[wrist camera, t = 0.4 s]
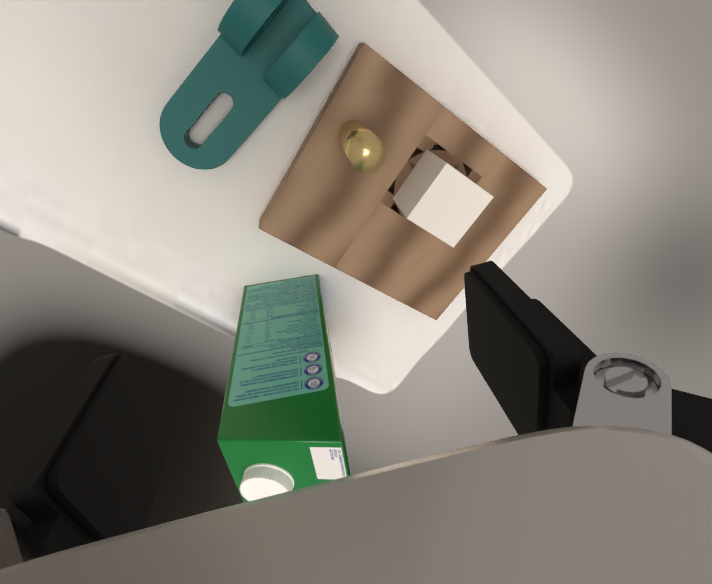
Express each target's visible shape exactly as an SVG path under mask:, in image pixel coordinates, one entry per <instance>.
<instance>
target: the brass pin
mask: <svg viewBox="0 0 712 584" xmlns="http://www.w3.org/2000/svg"><path fill="white" fill-rule="evenodd" d="M338 140H339V143H340V145H341V147H342V149H343V150H344V152H345V154H346V155H347V157H348V159H349V161H350V162H351V164H352V166H353V167H354V168H355V169H356V170H357V171H359V172H362V173H372V172H375V171H376V170H378V169H379V168H380V167H381V166H382V165H383V163H384V161H385V158H386V149H385V146H384V144H383V142H382V141H381V140H380V139H379V138H378V137H377V136H376V135H375V134H374V133H373V132H372V131H371V130H370V129H369V128H367V127H366V126H365V125H364V124H363V123H362V122H360V121H357V120H350V121H348V122H346V123H344V124H343V125H342V127H341V128H340V130H339V134H338Z"/></svg>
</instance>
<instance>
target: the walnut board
mask: <svg viewBox="0 0 712 584" xmlns="http://www.w3.org/2000/svg"><path fill="white" fill-rule="evenodd" d="M350 120H357V121H360V122H362V123H363V124H364V125H365V126H366V127H367V128H369V129H370V130H371V131H372V132H373V133H374V134H375V135H376V136H377V137H378V138H379V139H380V140H381V141H382V142H383V144H384V146H385V149H386V158H385V161H384V163H383V165H382V166H381V167H380V168H379V169H378V170H376V171H375V172H372V173H362V172H359V171H357V170H356V169H355V168H354V167H353V166H352V164H351V162H350V161H349V159H348V157H347V155H346V154H345V152H344V150H343V149H342V147H341V145H340V143H339V140H338V134H339V130H340V128H341V127H342V125H343V124H344V123H346V122H348V121H350ZM435 143H436V144H437V145H439V146H434V145H435ZM427 149H428V150H429V151H430V152H432V153H433V154H435V155H436V156H438V157H439V158H441V159H442V160H443V161H445V162H446V163H448V164H449V165H450V166H452V167H453V168H455V169H456V170H457V171H459V172H460V173H461V174H463V175H464V176H466V177H467V178H468V179H470V180H471V181H472V182H474V183H475V184H477V185H478V186H479V187H481V188H482V189H483V190H485V191H486V192H488V193H489V194H490V195H492V196H493V199H492V200H491V201H490V202H489V204H488V205H487V206H486V207H485V209H484V210H483V211H482V213H481V214H480V215H479V216H478V218H477V219H476V220H475V221H474V223H473V224H472V225H471V226H470V228H469V229H468V230H467V231H466V233H465V234H464V235H463V236H462V238H461V239H460V240H459V241H458V243H457V244H456V245H455V247H454V248H453V247H452V246H450V245H448V244H447V243H445V242H444V241H442V240H440V239H439V238H437V237H436V236H434V235H432V234H431V233H429V232H428V231H426V230H424V229H423V228H421V227H420V226H418V225H416V224H415V223H413V222H412V221H410V220H408V219H407V218H406V217H405V215H404V214H403V213H402V211H401V210H400V208H399V207H398V206H397V204H396V203H395V201H394V200H393V197H394V196H395V195H396V193H397V192H398V190H399V189H400V187H401V186H402V184H403V183H404V181H405V180H406V179H407V177H408V176H409V174H410V173H411V171H412V170H413V168H414V167H415V166H416V164H417V163H418V161H419V160H420V158H421V157H422V155H423V154H424V153H425V151H426V150H427ZM463 164H464V165H463ZM546 189H547V188H545V187H544V186H543V185H542V184H540V183H539V182H538V181H537V180H535V179H534V178H533V177H532V176H530V175H529V174H528V173H527V172H525V171H524V170H523V169H522V168H520V167H519V166H518V165H517V164H515V163H514V162H513V161H512V160H510V159H509V158H508V157H507V156H505V155H504V154H503V153H502V152H500V151H499V150H498V149H497V148H495V147H494V146H493V145H491V144H490V143H489V142H488V141H486V140H485V139H484V138H483V137H481V136H480V135H479V134H478V133H476V132H475V131H474V130H473V129H471V128H470V127H469V126H468V125H466V124H465V123H464V122H463V121H461V120H460V119H459V118H458V117H456V116H455V115H454V114H453V113H451V112H450V111H449V110H448V109H446V108H445V107H444V106H443V105H441V104H440V103H439V102H438V101H436V100H435V99H434V98H433V97H431V96H430V95H429V94H428V93H426V92H425V91H424V90H423V89H421V88H420V87H419V86H418V85H416V84H415V83H414V82H413V81H411V80H410V79H409V78H408V77H406V76H405V75H404V74H403V73H401V72H400V71H399V70H398V69H396V68H395V67H394V66H393V65H391V64H390V63H389V62H388V61H386V60H385V59H384V58H382V57H381V56H380V55H379V54H377V53H376V52H375V51H374V50H372V49H371V48H370V47H369V46H367V45H366V44H365V43H360V44H359V45H358V47H357V49H356V51H355V53H354V54H353V56H352V58H351V60H350V61H349V63H348V65H347V67H346V69H345V70H344V72H343V74H342V76H341V77H340V79H339V81H338V83H337V84H336V86H335V88H334V90H333V92H332V93H331V95H330V97H329V99H328V100H327V102H326V104H325V106H324V108H323V109H322V111H321V113H320V115H319V116H318V118H317V120H316V122H315V123H314V125H313V127H312V129H311V131H310V132H309V134H308V136H307V138H306V139H305V141H304V143H303V145H302V147H301V148H300V150H299V152H298V154H297V155H296V157H295V159H294V161H293V163H292V164H291V166H290V168H289V170H288V171H287V173H286V175H285V177H284V178H283V180H282V182H281V184H280V186H279V187H278V189H277V191H276V193H275V194H274V196H273V198H272V200H271V202H270V203H269V205H268V207H267V209H266V210H265V212H264V214H263V216H262V217H261V219H260V224H259V229H261V230H263V231H265V232H267V233H268V234H270V235H272V236H274V237H276V238H278V239H280V240H282V241H284V242H286V243H288V244H290V245H292V246H294V247H296V248H297V249H299V250H301V251H303V252H305V253H307V254H309V255H311V256H313V257H315V258H317V259H319V260H321V261H323V262H325V263H327V264H328V265H330V266H332V267H334V268H336V269H338V270H340V271H342V272H344V273H346V274H348V275H350V276H352V277H354V278H356V279H358V280H359V281H361V282H363V283H365V284H367V285H369V286H371V287H373V288H375V289H377V290H379V291H381V292H383V293H385V294H387V295H388V296H390V297H392V298H394V299H396V300H398V301H400V302H402V303H404V304H406V305H408V306H410V307H412V308H414V309H416V310H418V311H419V312H421V313H423V314H425V315H427V316H429V317H431V318H433V319H435V320H437V319H438V318H439V316H440V315H441V314H442V313H443V312H444V310H445V309H446V308H447V307H448V306H449V305H450V303H451V302H452V301H453V300H454V299H455V297H456V296H457V295H458V294H459V293H460V292H461V290H462V289H463V288H464V287H465V283H464V274H465V273H466V272H470V267H471V266H472V265H476V264H480V263H484V262H486V261H487V259H488V258H489V257H490V256H491V255H492V254H493V252H494V251H495V250H496V249H497V248H498V246H499V245H500V244H501V243H502V242H503V240H504V239H505V238H506V237H507V236H508V235H509V233H510V232H511V231H512V230H513V229H514V227H515V226H516V225H517V224H518V223H519V221H520V220H521V219H522V218H523V217H524V216H525V214H526V213H527V212H528V211H529V210H530V208H531V207H532V206H533V205H534V204H535V203H536V201H537V200H538V199H539V198H540V197H541V195H542V194H543V193H544V192H545V191H546ZM393 204H394V205H395V207H396V208H395V207H394V206H392V205H393Z"/></svg>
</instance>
